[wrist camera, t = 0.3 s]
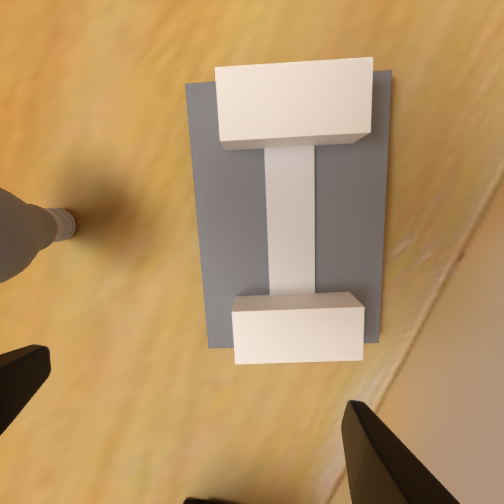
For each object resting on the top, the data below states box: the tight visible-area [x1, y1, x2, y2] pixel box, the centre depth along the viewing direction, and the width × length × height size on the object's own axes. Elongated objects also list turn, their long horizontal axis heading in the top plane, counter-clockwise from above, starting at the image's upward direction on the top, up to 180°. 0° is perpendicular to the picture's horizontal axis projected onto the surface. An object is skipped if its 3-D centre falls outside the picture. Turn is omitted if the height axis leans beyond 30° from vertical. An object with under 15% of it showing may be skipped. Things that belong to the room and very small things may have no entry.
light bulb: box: [0, 188, 75, 283], centre depth 16 cm, size 6×6×10 cm
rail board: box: [185, 57, 392, 364], centre depth 19 cm, size 20×14×4 cm
